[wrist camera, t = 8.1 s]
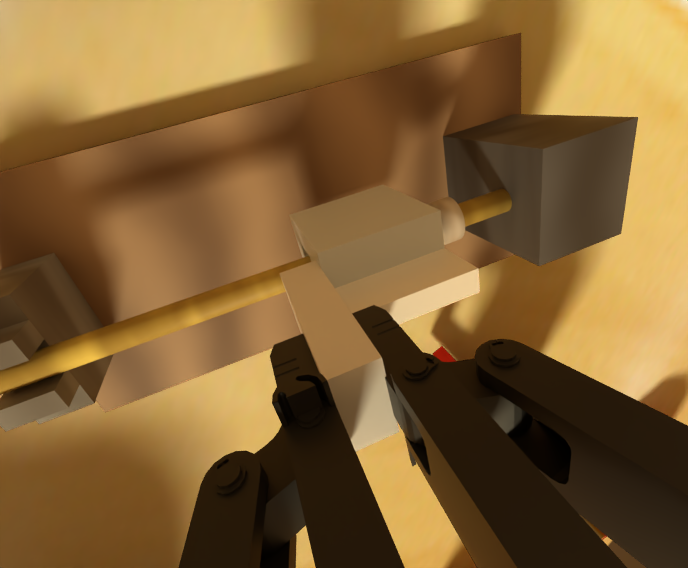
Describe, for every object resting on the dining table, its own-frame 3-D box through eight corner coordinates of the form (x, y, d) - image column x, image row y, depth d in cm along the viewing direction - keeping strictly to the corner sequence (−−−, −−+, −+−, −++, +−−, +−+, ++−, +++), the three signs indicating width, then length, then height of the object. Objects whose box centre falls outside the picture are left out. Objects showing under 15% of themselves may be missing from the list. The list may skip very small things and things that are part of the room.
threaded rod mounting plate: (109, 399, 24) (61, 539, 16) (-51, 185, 17) (-267, 250, 9) (509, 247, 29) (618, 298, 21) (506, 36, 22) (664, -2, 14)
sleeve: (312, 288, 20) (362, 377, 13) (289, 215, 18) (334, 277, 11) (395, 257, 21) (481, 327, 14) (382, 184, 19) (476, 226, 12)
